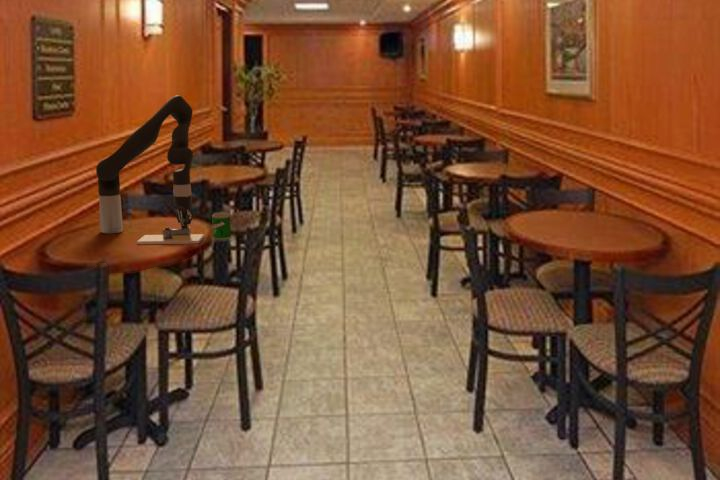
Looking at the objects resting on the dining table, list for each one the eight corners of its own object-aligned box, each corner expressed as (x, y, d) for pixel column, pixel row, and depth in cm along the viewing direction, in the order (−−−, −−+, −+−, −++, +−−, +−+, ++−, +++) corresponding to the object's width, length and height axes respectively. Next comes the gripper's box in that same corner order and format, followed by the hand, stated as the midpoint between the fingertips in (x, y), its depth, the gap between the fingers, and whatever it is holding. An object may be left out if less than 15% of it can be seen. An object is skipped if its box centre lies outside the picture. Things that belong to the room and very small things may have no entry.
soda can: (222, 237, 337) (221, 210, 334) (234, 239, 332) (233, 212, 330) (209, 240, 331) (208, 213, 328) (221, 242, 326) (219, 215, 324)
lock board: (137, 244, 325) (136, 237, 324) (145, 237, 338) (144, 230, 337) (198, 243, 325) (198, 236, 325) (204, 236, 338) (203, 230, 337)
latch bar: (162, 238, 328) (161, 228, 327) (164, 236, 331) (163, 227, 330) (189, 238, 328) (188, 228, 327) (191, 236, 332) (190, 226, 331)
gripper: (167, 193, 331) (169, 232, 335) (182, 197, 322) (184, 237, 326) (183, 191, 336) (185, 229, 340) (197, 195, 326) (200, 234, 330)
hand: (184, 233), depth 333 cm, fingers closed
